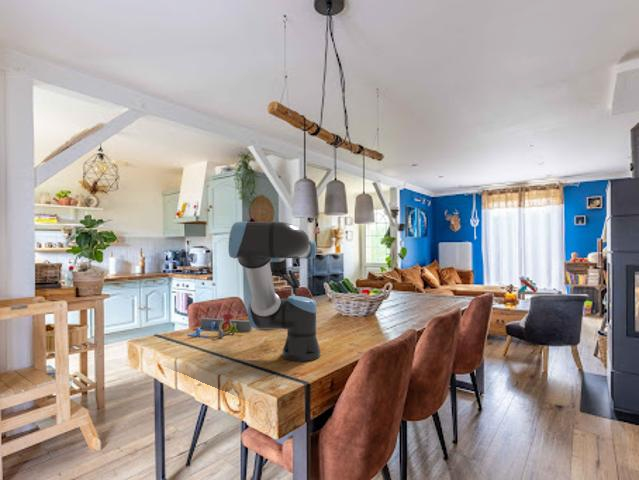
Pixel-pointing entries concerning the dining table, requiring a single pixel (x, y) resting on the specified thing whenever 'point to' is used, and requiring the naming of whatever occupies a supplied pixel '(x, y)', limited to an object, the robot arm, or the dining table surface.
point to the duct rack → (214, 325)
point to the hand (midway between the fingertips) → (280, 296)
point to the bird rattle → (225, 326)
